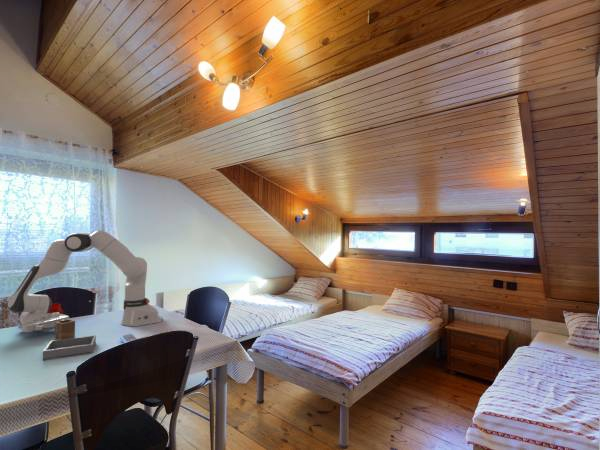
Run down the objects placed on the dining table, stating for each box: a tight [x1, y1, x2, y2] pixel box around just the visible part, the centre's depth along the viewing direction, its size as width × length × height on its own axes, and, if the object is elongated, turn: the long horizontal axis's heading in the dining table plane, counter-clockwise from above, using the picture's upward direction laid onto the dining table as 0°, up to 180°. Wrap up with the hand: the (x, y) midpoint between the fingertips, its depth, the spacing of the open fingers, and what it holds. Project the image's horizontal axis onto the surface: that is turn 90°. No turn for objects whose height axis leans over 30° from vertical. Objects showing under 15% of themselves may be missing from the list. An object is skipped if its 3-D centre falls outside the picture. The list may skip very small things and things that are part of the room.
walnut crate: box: [54, 318, 76, 340], centre depth 160 cm, size 6×6×10 cm
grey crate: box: [42, 334, 97, 361], centre depth 147 cm, size 18×14×4 cm
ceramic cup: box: [48, 303, 64, 314], centre depth 190 cm, size 13×17×10 cm
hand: (53, 325), depth 166 cm, fingers open, 8 cm apart
